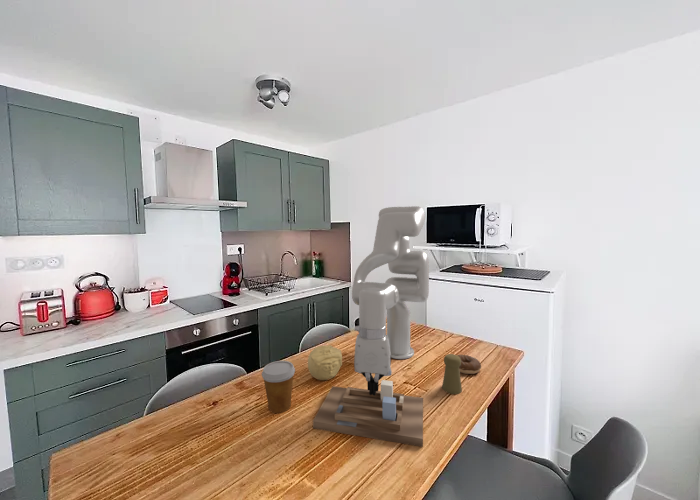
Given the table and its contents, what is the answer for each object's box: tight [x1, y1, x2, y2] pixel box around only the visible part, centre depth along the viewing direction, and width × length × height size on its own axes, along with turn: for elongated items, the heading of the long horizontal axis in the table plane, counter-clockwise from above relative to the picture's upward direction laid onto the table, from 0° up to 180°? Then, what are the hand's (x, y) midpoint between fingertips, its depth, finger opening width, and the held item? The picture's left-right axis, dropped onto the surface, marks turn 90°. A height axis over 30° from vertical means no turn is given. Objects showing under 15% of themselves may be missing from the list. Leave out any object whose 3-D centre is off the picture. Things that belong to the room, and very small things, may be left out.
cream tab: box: [380, 379, 394, 400], centre depth 84 cm, size 3×3×6 cm
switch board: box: [312, 385, 424, 448], centre depth 81 cm, size 17×28×3 cm, turn 76°
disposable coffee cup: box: [261, 360, 296, 414], centre depth 85 cm, size 10×10×12 cm
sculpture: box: [307, 344, 343, 381], centre depth 103 cm, size 11×12×11 cm
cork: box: [441, 353, 463, 395], centre depth 94 cm, size 6×6×11 cm
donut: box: [456, 354, 482, 375], centre depth 107 cm, size 11×11×4 cm
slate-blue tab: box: [382, 396, 396, 421], centre depth 76 cm, size 3×3×6 cm
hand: (373, 392), depth 85 cm, fingers closed
